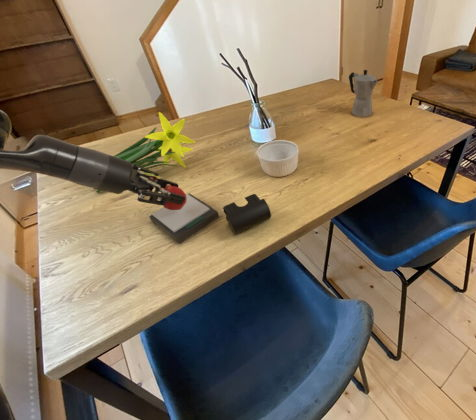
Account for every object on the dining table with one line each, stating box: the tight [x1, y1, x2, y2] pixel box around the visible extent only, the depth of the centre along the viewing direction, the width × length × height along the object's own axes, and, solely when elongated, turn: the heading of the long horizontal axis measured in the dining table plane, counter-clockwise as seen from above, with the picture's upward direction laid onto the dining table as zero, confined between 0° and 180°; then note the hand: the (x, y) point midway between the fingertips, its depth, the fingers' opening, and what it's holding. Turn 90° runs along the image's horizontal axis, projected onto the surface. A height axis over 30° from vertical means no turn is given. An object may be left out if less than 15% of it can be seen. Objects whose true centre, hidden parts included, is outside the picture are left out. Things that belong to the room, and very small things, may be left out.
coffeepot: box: [348, 69, 379, 118], centre depth 118 cm, size 15×9×18 cm, turn 43°
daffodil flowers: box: [92, 111, 196, 194], centre depth 85 cm, size 17×15×35 cm
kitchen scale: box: [148, 193, 220, 245], centre depth 73 cm, size 12×13×3 cm
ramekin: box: [256, 139, 300, 178], centre depth 90 cm, size 13×13×7 cm
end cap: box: [222, 193, 272, 235], centre depth 70 cm, size 10×7×7 cm
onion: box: [163, 184, 187, 210], centre depth 69 cm, size 6×6×8 cm
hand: (179, 194), depth 70 cm, fingers closed on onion, 5 cm apart
